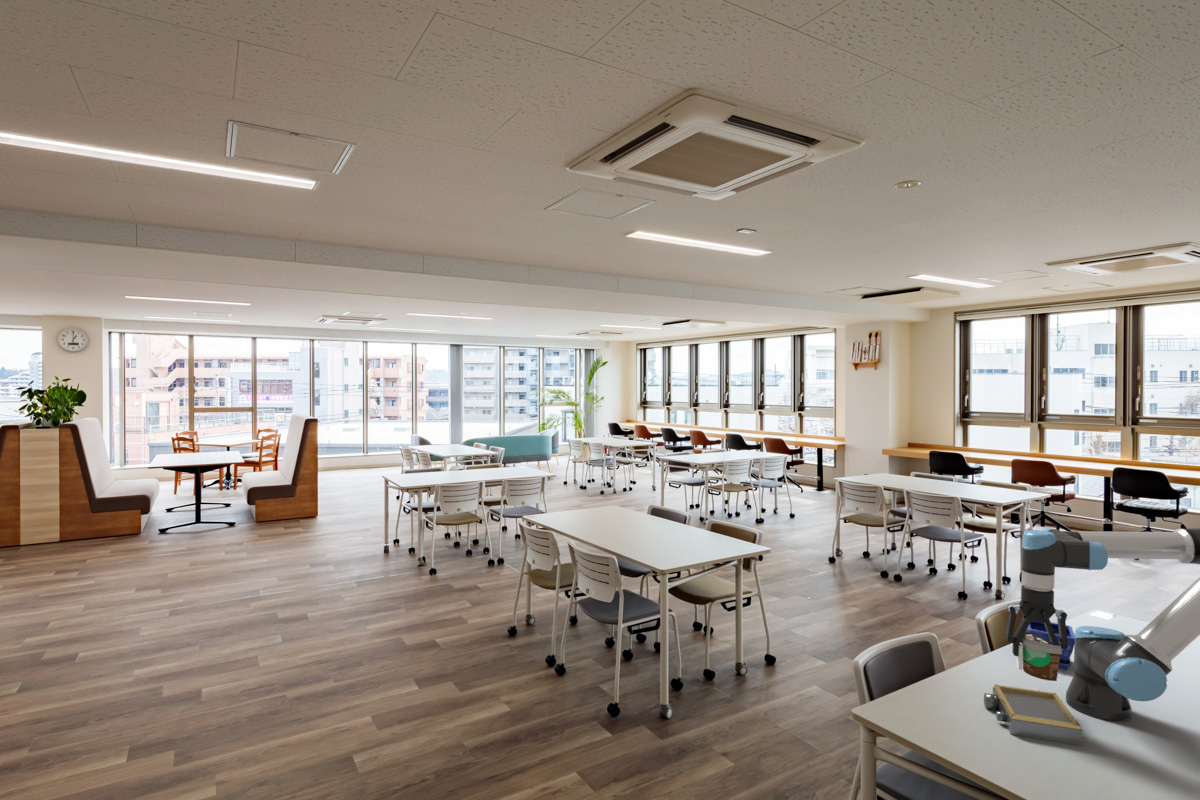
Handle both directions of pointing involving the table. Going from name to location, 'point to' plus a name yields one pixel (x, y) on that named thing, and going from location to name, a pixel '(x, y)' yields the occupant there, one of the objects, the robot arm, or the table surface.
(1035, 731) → the grey flat box
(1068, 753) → the table surface
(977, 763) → the table surface
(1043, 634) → the flower pot
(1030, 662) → the food container
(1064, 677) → the table surface
